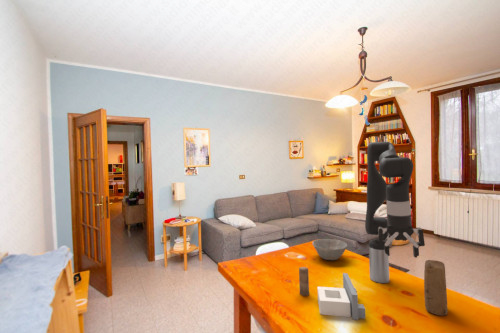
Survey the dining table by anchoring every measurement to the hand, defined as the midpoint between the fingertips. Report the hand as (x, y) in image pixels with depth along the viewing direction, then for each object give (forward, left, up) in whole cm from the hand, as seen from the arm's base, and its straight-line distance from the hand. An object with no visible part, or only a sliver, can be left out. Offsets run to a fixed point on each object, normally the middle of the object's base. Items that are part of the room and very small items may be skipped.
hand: (401, 255), depth 89 cm
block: (-17, +19, -28) cm, 38 cm away
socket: (-13, -23, -28) cm, 39 cm away
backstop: (-15, -14, -28) cm, 35 cm away
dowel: (-23, -35, -28) cm, 50 cm away
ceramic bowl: (-71, -17, -28) cm, 78 cm away
